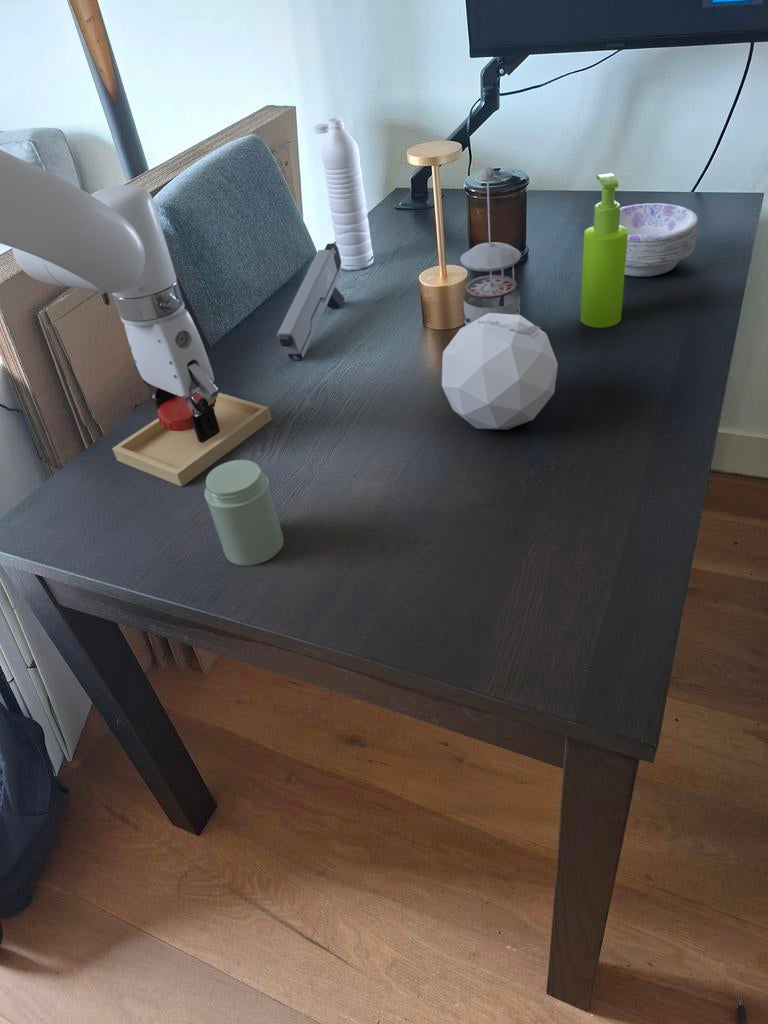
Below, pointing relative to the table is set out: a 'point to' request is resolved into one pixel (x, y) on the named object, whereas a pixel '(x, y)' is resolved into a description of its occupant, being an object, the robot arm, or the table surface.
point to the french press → (491, 286)
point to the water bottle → (346, 195)
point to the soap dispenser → (604, 261)
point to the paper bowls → (657, 237)
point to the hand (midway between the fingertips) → (191, 428)
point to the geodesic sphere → (499, 371)
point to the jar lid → (177, 413)
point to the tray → (191, 442)
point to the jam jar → (243, 512)
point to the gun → (311, 302)
